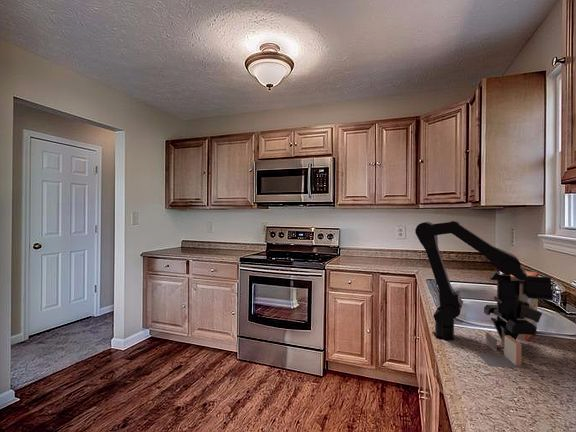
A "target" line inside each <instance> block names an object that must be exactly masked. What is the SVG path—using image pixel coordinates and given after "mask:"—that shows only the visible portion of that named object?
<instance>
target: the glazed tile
mask: <svg viewBox="0 0 576 432" xmlns="http://www.w3.org/2000/svg"><path fill="white" fill-rule="evenodd" d="M503 352H504V353H503V354H504V356H505V357H506V358H508V359H509V360H510V361H511V362H512V363H513V364H514V365H516V366H522V343H521V342H519V341H518V340H517V339H516V340H515V339H514V338H512V337H511V336H510V335H505V339H504V351H503Z"/></svg>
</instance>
